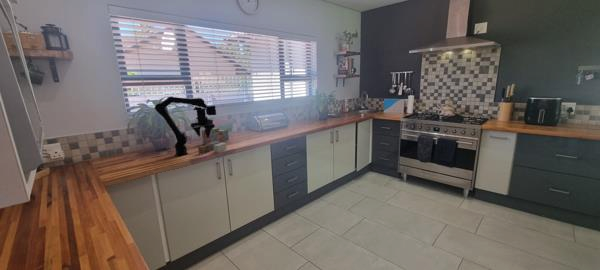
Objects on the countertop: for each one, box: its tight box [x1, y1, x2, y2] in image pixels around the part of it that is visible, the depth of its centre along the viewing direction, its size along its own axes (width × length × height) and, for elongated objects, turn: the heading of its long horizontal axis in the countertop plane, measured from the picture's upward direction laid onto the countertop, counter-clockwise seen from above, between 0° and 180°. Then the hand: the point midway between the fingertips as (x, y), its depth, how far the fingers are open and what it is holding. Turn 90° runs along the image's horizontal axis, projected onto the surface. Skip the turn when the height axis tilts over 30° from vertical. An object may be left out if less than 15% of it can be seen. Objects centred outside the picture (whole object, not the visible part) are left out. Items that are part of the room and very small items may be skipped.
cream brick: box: [213, 142, 227, 153], centre depth 187 cm, size 8×4×5 cm, turn 152°
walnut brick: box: [197, 144, 213, 155], centre depth 184 cm, size 8×4×5 cm, turn 152°
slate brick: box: [208, 141, 222, 151], centre depth 193 cm, size 8×4×5 cm, turn 148°
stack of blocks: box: [201, 127, 229, 145], centre depth 214 cm, size 21×6×12 cm, turn 143°
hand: (203, 137), depth 182 cm, fingers open, 9 cm apart
